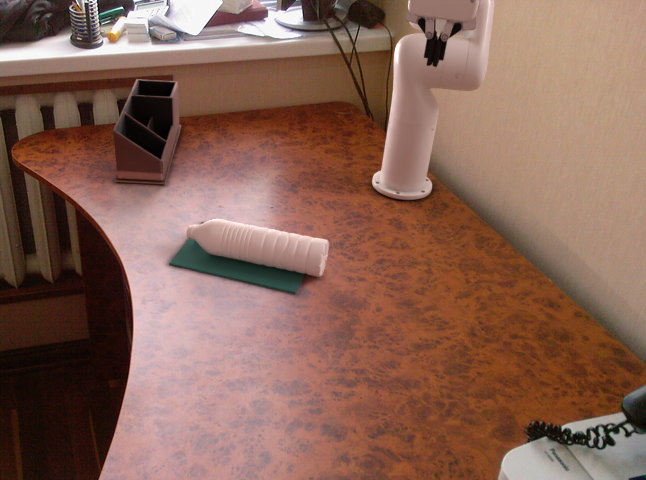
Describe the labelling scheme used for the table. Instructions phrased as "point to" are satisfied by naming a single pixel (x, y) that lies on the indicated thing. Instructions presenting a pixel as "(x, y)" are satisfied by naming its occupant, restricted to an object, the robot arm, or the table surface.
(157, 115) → the desk organizer
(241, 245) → the water bottle
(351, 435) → the table surface
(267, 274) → the mat
